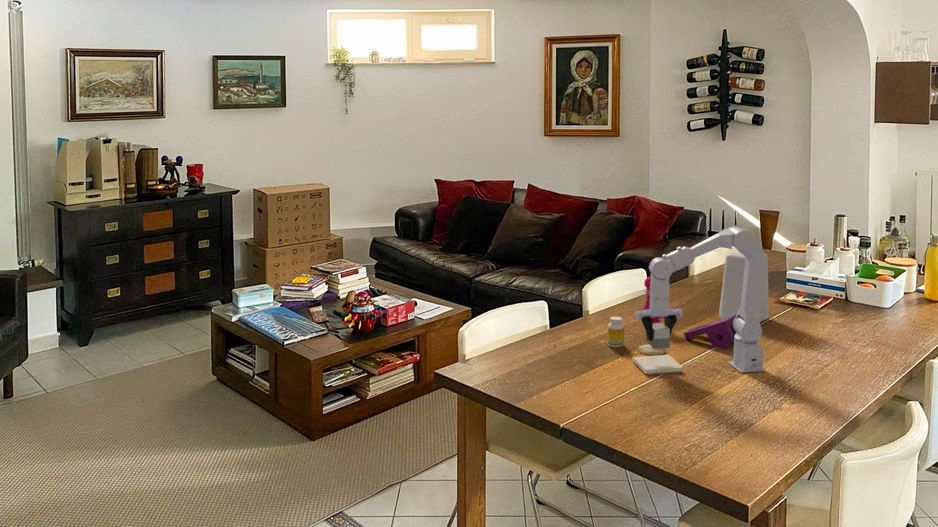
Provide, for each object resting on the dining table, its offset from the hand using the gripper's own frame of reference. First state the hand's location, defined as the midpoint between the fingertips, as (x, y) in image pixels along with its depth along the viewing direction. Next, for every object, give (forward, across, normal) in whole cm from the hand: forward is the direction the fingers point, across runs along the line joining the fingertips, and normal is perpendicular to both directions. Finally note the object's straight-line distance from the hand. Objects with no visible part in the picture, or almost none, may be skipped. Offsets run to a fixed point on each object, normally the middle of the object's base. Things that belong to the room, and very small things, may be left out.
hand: (658, 339), depth 252 cm
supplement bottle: (+10, +6, -24) cm, 26 cm away
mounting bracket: (+10, -27, -22) cm, 36 cm away
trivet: (+9, 0, 0) cm, 9 cm away
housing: (+2, 0, 0) cm, 2 cm away
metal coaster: (+9, -4, -16) cm, 19 cm away
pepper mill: (+9, -14, -44) cm, 47 cm away
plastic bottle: (+10, -50, -45) cm, 68 cm away
